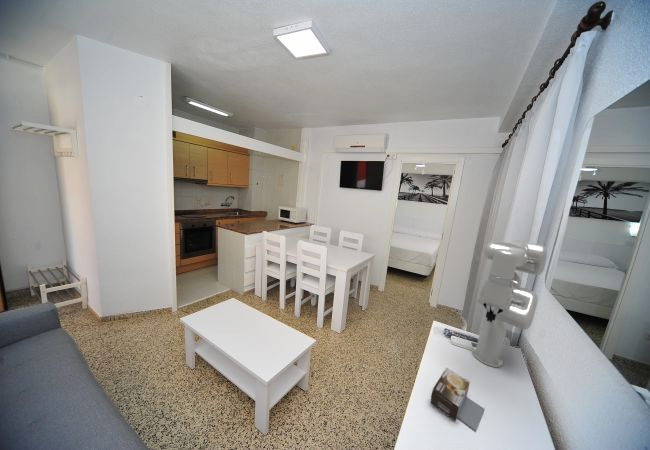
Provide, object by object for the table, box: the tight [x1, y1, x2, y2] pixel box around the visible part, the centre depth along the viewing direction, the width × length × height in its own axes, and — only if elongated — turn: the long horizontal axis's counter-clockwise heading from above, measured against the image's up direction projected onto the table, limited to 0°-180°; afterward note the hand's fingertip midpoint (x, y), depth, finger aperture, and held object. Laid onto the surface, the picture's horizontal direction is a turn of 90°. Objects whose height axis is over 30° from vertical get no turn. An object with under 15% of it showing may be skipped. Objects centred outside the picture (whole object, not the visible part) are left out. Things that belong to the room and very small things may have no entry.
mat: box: [456, 396, 485, 433], centre depth 85 cm, size 12×13×1 cm
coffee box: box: [430, 367, 471, 422], centre depth 87 cm, size 9×6×16 cm
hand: (489, 320), depth 93 cm, fingers closed
